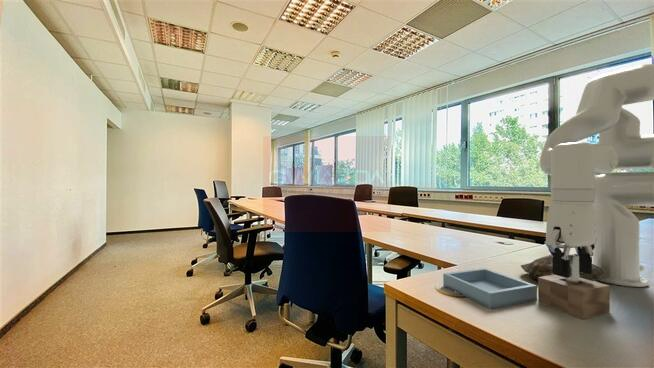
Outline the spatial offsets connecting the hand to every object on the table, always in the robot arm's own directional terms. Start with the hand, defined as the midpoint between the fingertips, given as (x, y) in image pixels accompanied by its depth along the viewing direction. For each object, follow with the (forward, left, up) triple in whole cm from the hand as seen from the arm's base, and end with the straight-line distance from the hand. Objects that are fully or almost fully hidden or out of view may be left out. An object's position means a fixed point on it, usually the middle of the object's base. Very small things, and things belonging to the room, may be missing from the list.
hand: (572, 273), depth 64 cm
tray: (+11, -13, -8) cm, 19 cm away
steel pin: (0, 0, -8) cm, 8 cm away
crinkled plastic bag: (-18, -14, -8) cm, 24 cm away
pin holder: (0, 0, -8) cm, 8 cm away
